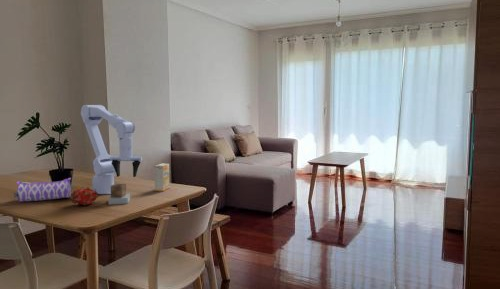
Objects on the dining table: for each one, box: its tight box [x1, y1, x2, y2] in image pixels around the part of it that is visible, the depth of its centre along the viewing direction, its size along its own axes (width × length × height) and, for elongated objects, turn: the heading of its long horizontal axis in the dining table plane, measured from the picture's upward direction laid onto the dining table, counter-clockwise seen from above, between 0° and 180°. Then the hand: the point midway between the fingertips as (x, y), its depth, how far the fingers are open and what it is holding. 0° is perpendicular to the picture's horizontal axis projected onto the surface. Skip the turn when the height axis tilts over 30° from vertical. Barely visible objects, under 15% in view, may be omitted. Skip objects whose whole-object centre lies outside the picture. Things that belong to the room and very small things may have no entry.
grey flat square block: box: [108, 193, 131, 205], centre depth 165 cm, size 8×8×3 cm
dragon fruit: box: [69, 186, 100, 207], centre depth 160 cm, size 8×8×12 cm
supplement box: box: [154, 163, 171, 192], centre depth 189 cm, size 8×5×13 cm, turn 169°
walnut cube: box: [110, 183, 127, 197], centre depth 165 cm, size 5×5×5 cm
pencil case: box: [13, 177, 72, 203], centre depth 168 cm, size 22×9×10 cm, turn 112°
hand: (126, 176), depth 173 cm, fingers open, 7 cm apart
